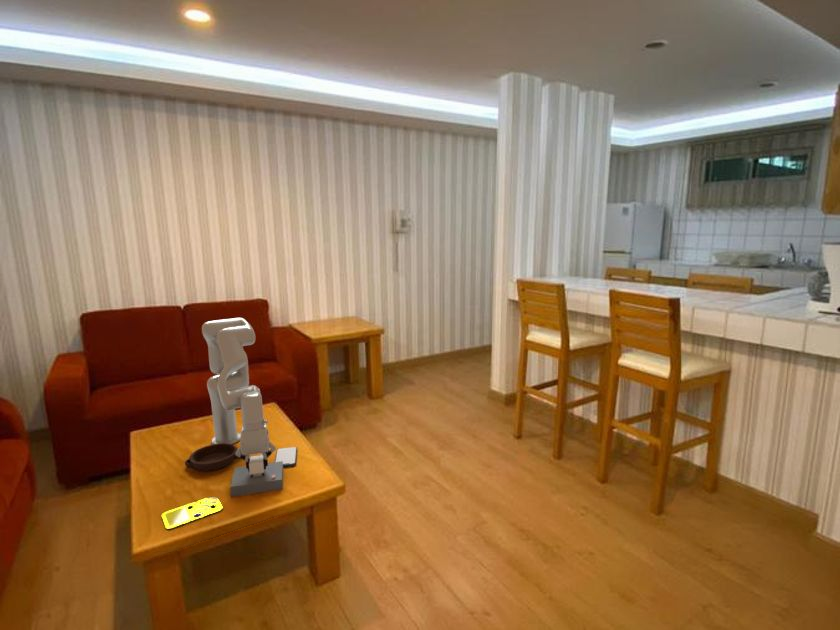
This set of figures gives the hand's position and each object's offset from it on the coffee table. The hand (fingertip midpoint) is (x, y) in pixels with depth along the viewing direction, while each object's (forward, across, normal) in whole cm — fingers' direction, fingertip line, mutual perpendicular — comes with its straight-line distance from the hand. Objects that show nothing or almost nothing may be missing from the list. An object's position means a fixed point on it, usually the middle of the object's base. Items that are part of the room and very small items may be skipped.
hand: (257, 468), depth 176 cm
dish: (+7, +19, -21) cm, 29 cm away
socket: (+6, 0, 0) cm, 6 cm away
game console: (+7, +21, +13) cm, 26 cm away
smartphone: (+7, -10, -17) cm, 21 cm away
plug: (+4, 0, 0) cm, 4 cm away
